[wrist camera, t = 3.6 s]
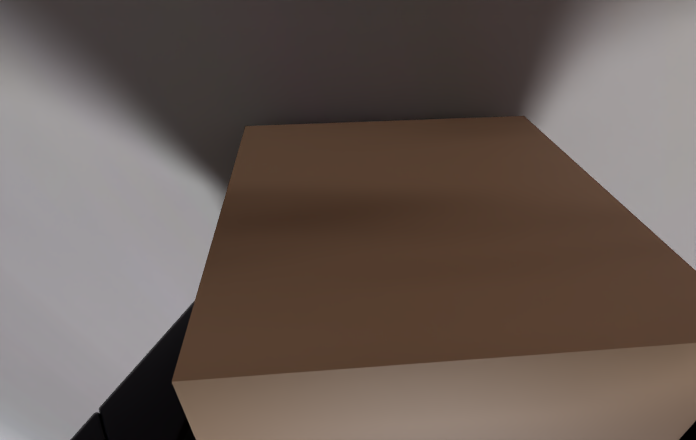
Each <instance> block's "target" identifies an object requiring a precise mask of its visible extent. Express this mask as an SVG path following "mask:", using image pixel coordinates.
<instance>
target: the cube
mask: <svg viewBox="0 0 696 440" xmlns="http://www.w3.org/2000/svg"><path fill="white" fill-rule="evenodd" d="M172 384H173V386H174V389H175V391H176V394H177V396H178V398H179V401H180V403H181V406H182V408H183V410H184V413H185V415H186V417H187V420H188V422H189V425H190V427H191V429H192V432H193V434H194V436H195V439H196V440H679V439H680V438H681V437H682V436H683V435H684V433H685V432H686V431H687V430H688V429H689V428H690V427H691V425H692V424H693V423H694V422H695V421H696V271H695V270H694V269H693V268H692V267H691V266H690V265H689V264H688V263H686V262H685V261H684V260H683V259H682V258H681V257H680V256H679V255H678V254H676V253H675V252H674V251H673V250H672V249H671V248H670V247H669V246H668V245H667V244H665V243H664V242H663V241H662V240H661V239H660V238H659V237H658V236H657V235H655V234H654V233H653V232H652V231H651V230H650V229H649V228H648V227H647V226H645V225H644V224H643V223H642V222H641V221H640V220H639V219H638V218H637V217H635V216H634V215H633V214H632V213H631V212H630V211H629V210H628V209H627V208H625V207H624V206H623V205H622V204H621V203H620V202H619V201H618V200H617V199H616V198H614V197H613V196H612V195H611V194H610V193H609V192H608V191H607V190H606V189H604V188H603V187H602V186H601V185H600V184H599V183H598V182H597V181H596V180H594V179H593V178H592V177H591V176H590V175H589V174H588V173H587V172H586V171H584V170H583V169H582V168H581V167H580V166H579V165H578V164H577V163H576V162H574V161H573V160H572V159H571V158H570V157H569V156H568V155H567V154H566V153H565V152H563V151H562V150H561V149H560V148H559V147H558V146H557V145H556V144H555V143H553V142H552V141H551V140H550V139H549V138H548V137H547V136H546V135H545V134H543V133H542V132H541V131H540V130H539V129H538V128H537V127H536V126H535V125H533V124H532V123H531V122H530V121H529V120H528V119H527V118H526V117H525V116H507V117H480V118H452V119H425V120H398V121H370V122H343V123H316V124H288V125H261V126H245V129H244V133H243V136H242V140H241V143H240V146H239V150H238V153H237V157H236V160H235V164H234V167H233V171H232V174H231V178H230V181H229V185H228V188H227V192H226V195H225V198H224V202H223V205H222V209H221V212H220V216H219V219H218V223H217V226H216V230H215V233H214V237H213V240H212V243H211V247H210V250H209V254H208V257H207V261H206V264H205V268H204V271H203V275H202V278H201V282H200V285H199V288H198V292H197V295H196V299H195V302H194V306H193V309H192V313H191V316H190V320H189V323H188V327H187V330H186V333H185V337H184V340H183V344H182V347H181V351H180V354H179V358H178V361H177V365H176V368H175V372H174V375H173V379H172Z"/></svg>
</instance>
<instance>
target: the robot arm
mask: <svg viewBox="0 0 696 440" xmlns="http://www.w3.org/2000/svg"><path fill="white" fill-rule="evenodd" d="M194 302H195V301H194ZM194 302H193V303H192V304H191V305H190V306H189V308H188V309H187V310H186V311H185V312H184V313H183V314H182V315H181V317H180V318H179V319H178V320H177V321H176V322H175V323H174V324H173V326H172V327H171V328H170V329H169V330H168V331H167V332H166V333H165V335H164V336H163V337H162V338H161V339H160V340H159V341H158V342H157V344H156V345H155V346H154V347H153V348H152V349H151V350H150V351H149V353H148V354H147V355H146V356H145V357H144V358H143V359H142V360H141V362H140V363H139V364H138V365H137V366H136V367H135V368H134V369H133V371H132V372H131V373H130V374H129V375H128V376H127V377H126V378H125V379H124V381H123V382H122V383H121V384H120V385H119V386H118V387H117V388H116V390H115V391H114V392H113V393H112V394H111V395H110V396H109V397H108V399H107V400H106V401H105V402H104V403H103V404H102V405H101V406H100V408H99V413H98V412H96V413H94V414H93V415H92V416H91V417H90V419H89V420H88V421H87V422H86V423H85V424H84V425H83V426H82V427H81V429H80V430H79V431H78V432H77V433H76V434H75V435H74V436H73V438H72V439H71V440H196V439H195V436H194V434H193V432H192V429H191V427H190V425H189V422H188V420H187V417H186V415H185V413H184V410H183V408H182V406H181V403H180V401H179V398H178V396H177V394H176V391H175V389H174V386H173V384H172V379H173V375H174V372H175V368H176V365H177V361H178V358H179V354H180V351H181V347H182V344H183V340H184V337H185V333H186V330H187V327H188V323H189V320H190V316H191V313H192V309H193V306H194ZM679 440H696V421H695V422H694V423H693V424H692V425H691V427H690V428H689V429H688V430H687V431H686V432H685V433H684V435H683V436H682V437H681V438H680V439H679Z"/></svg>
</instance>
